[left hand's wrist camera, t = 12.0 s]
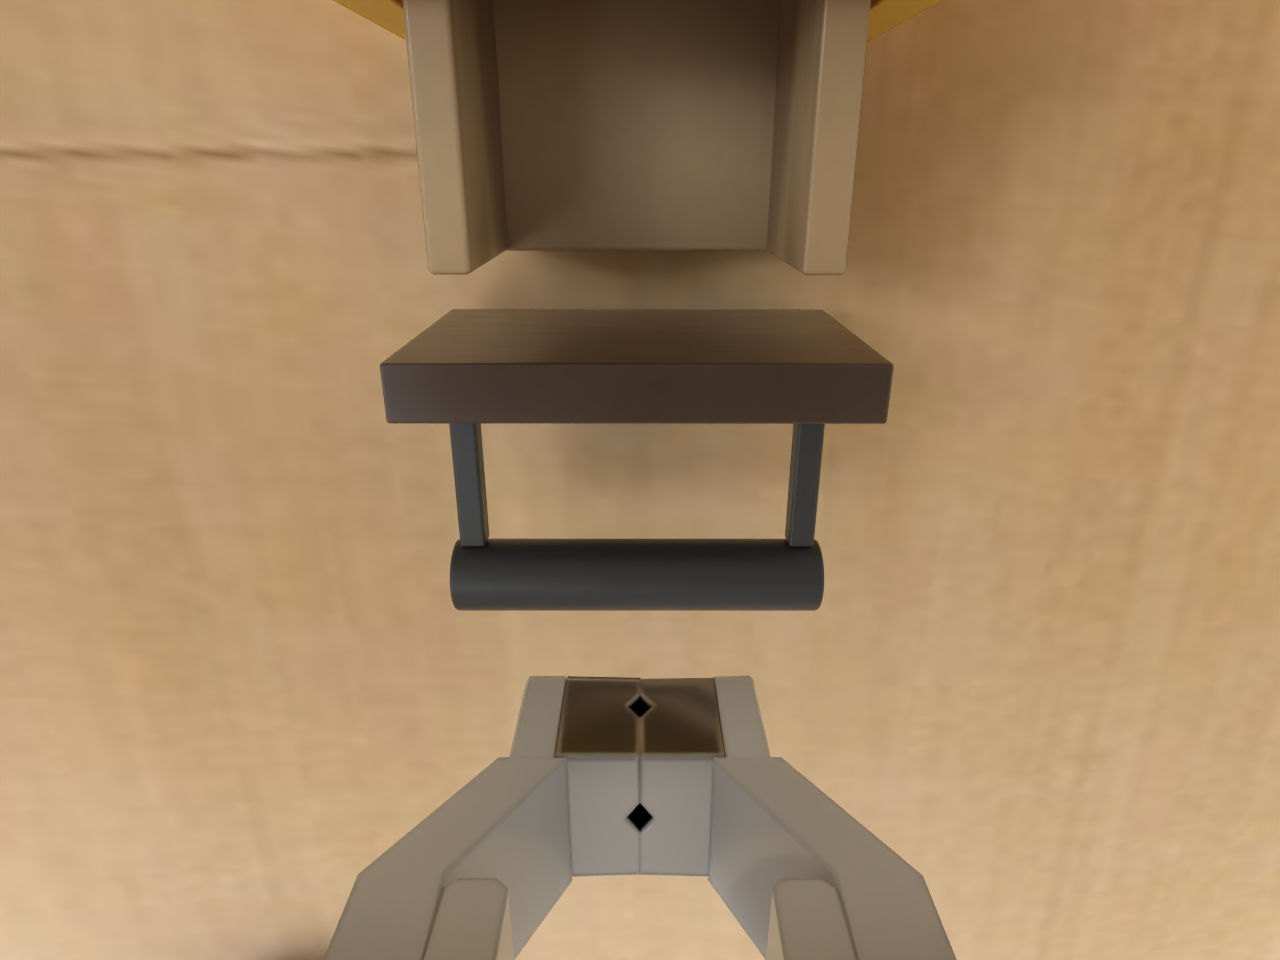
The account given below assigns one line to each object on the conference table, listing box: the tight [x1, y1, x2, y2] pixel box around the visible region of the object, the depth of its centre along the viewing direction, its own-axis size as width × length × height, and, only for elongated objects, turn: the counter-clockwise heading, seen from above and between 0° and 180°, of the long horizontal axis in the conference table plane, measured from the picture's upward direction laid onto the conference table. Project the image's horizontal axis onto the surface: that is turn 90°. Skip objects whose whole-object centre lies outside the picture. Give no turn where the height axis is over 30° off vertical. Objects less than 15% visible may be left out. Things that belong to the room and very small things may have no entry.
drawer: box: [380, 0, 893, 610], centre depth 16 cm, size 20×10×6 cm, turn 0°
